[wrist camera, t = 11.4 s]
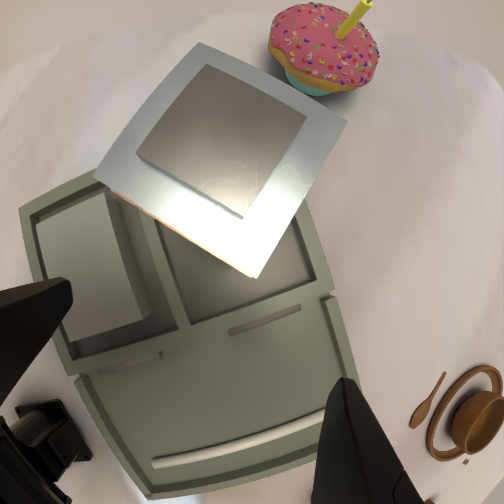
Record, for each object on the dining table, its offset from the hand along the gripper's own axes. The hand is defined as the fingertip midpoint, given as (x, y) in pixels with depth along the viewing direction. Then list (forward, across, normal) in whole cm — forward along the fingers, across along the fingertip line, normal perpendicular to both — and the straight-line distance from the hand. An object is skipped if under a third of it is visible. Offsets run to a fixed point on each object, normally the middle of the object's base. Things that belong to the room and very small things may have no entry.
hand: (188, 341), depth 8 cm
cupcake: (+21, 0, -11) cm, 24 cm away
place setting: (+11, -26, +18) cm, 34 cm away
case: (+9, +2, +9) cm, 13 cm away
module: (+12, +3, +1) cm, 13 cm away
